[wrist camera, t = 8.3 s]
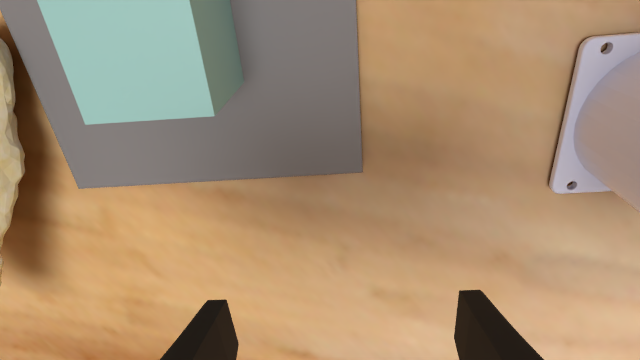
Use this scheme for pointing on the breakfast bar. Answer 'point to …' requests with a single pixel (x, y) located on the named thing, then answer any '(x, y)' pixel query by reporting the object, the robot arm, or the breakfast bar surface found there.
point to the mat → (235, 116)
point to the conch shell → (8, 145)
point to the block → (146, 57)
